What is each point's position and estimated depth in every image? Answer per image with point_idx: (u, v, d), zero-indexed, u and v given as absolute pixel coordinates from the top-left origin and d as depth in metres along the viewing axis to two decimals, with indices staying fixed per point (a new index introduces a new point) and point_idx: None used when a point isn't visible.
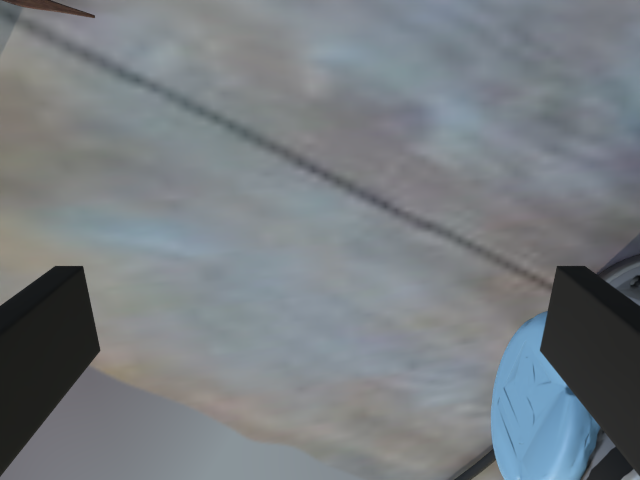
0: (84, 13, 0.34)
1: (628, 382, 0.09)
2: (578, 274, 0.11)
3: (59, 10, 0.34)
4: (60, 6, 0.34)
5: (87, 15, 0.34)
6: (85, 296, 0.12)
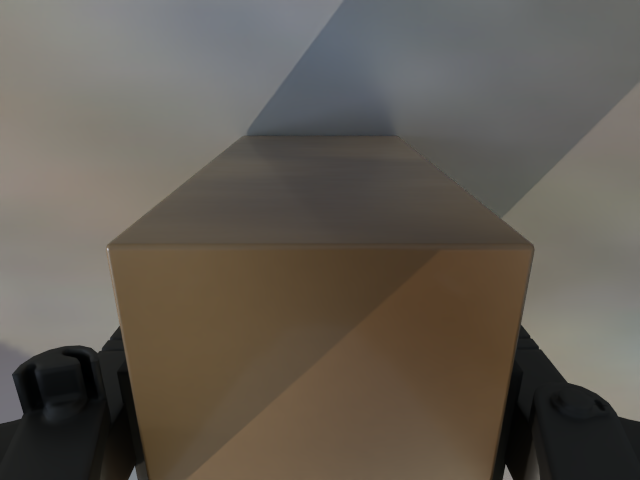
0: None
1: None
2: None
3: None
4: None
5: None
6: None
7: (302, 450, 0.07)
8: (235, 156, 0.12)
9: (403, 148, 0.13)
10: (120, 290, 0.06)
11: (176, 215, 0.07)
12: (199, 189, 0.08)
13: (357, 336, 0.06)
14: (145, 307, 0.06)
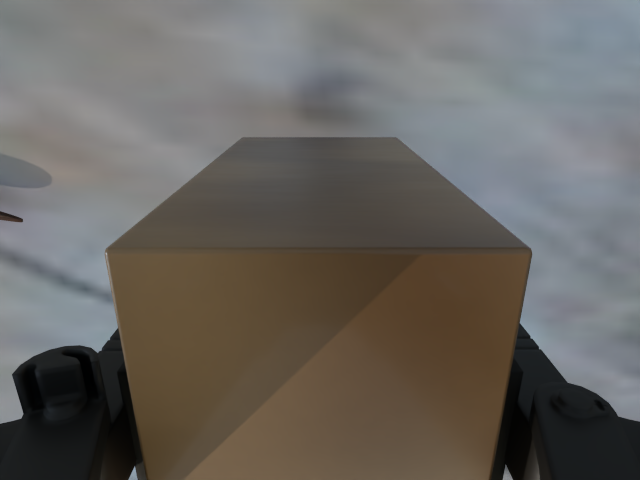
0: (7, 218, 0.25)
1: None
2: None
3: None
4: None
5: (11, 220, 0.25)
6: None
7: (300, 453, 0.07)
8: (234, 158, 0.12)
9: (402, 150, 0.13)
10: (119, 294, 0.06)
11: (175, 219, 0.07)
12: (198, 192, 0.08)
13: (355, 340, 0.06)
14: (144, 311, 0.06)
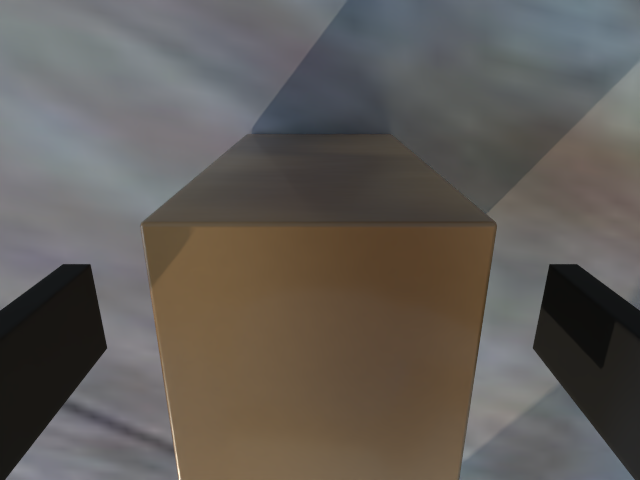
0: None
1: (617, 379, 0.09)
2: (570, 272, 0.12)
3: None
4: None
5: None
6: (93, 294, 0.12)
7: (303, 401, 0.08)
8: (241, 152, 0.13)
9: (395, 145, 0.14)
10: (151, 261, 0.07)
11: (195, 200, 0.08)
12: (212, 180, 0.10)
13: (349, 301, 0.07)
14: (172, 276, 0.07)
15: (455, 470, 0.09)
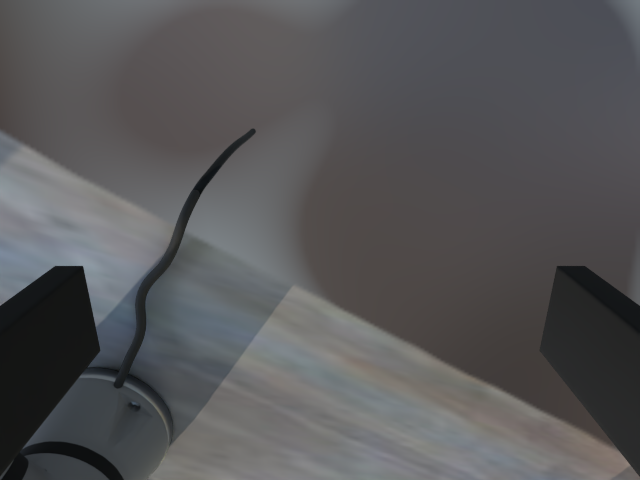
0: None
1: (628, 382, 0.09)
2: (578, 274, 0.11)
3: None
4: None
5: None
6: (85, 296, 0.12)
7: None
8: None
9: None
10: None
11: None
12: None
13: None
14: None
15: None
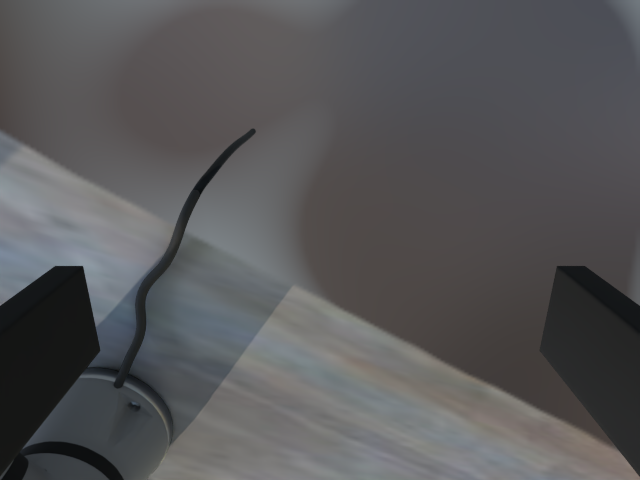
0: None
1: (628, 382, 0.09)
2: (578, 274, 0.11)
3: None
4: None
5: None
6: (85, 296, 0.12)
7: None
8: None
9: None
10: None
11: None
12: None
13: None
14: None
15: None
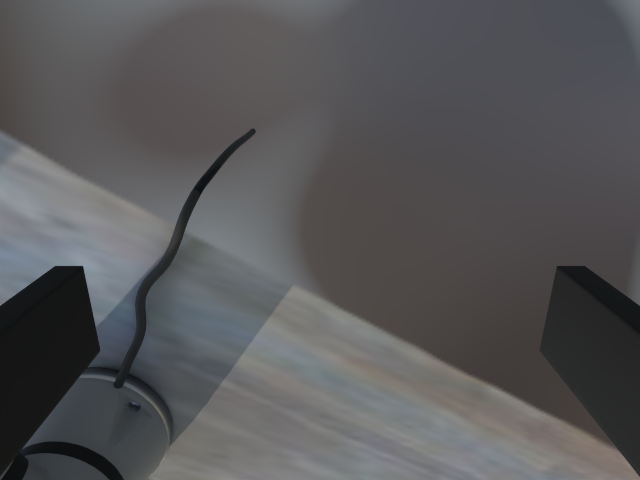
0: None
1: (628, 382, 0.09)
2: (578, 274, 0.11)
3: None
4: None
5: None
6: (85, 296, 0.12)
7: None
8: None
9: None
10: None
11: None
12: None
13: None
14: None
15: None
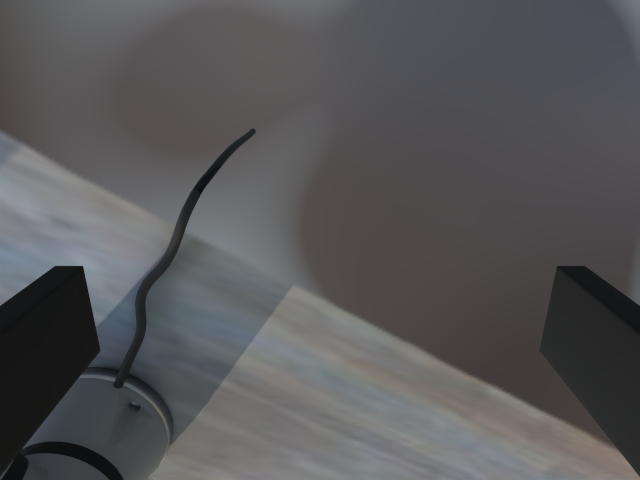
0: None
1: (628, 382, 0.09)
2: (578, 274, 0.11)
3: None
4: None
5: None
6: (85, 296, 0.12)
7: None
8: None
9: None
10: None
11: None
12: None
13: None
14: None
15: None
